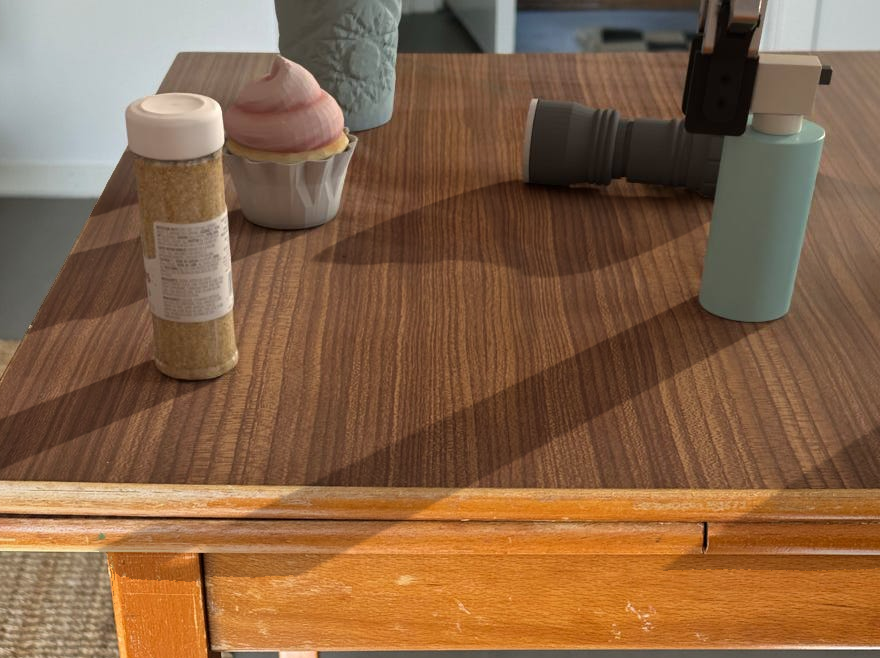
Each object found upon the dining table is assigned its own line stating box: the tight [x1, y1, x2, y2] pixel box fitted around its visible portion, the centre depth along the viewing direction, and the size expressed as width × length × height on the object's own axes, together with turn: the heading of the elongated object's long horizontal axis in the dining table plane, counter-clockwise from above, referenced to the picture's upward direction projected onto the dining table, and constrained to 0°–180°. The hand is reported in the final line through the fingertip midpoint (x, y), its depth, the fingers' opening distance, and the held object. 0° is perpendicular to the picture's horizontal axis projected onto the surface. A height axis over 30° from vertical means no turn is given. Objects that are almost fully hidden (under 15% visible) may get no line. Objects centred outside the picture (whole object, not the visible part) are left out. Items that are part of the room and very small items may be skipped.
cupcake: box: [222, 54, 359, 230], centre depth 85 cm, size 9×9×10 cm
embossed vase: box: [273, 0, 403, 133], centre depth 101 cm, size 10×10×12 cm
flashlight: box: [521, 98, 725, 199], centre depth 90 cm, size 15×5×5 cm, turn 78°
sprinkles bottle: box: [124, 92, 240, 381], centre depth 66 cm, size 5×5×14 cm
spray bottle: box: [698, 52, 834, 323], centre depth 73 cm, size 14×5×5 cm
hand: (712, 121), depth 71 cm, fingers closed, pressing on spray bottle
